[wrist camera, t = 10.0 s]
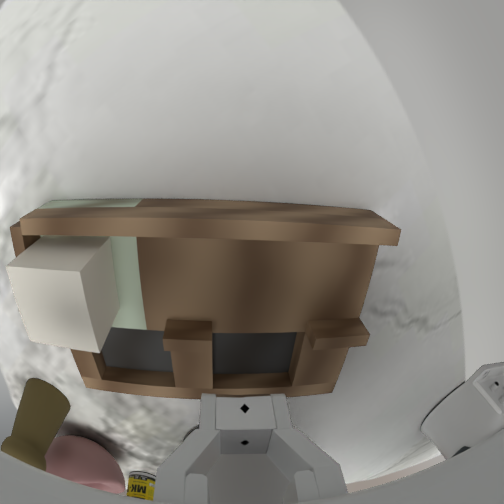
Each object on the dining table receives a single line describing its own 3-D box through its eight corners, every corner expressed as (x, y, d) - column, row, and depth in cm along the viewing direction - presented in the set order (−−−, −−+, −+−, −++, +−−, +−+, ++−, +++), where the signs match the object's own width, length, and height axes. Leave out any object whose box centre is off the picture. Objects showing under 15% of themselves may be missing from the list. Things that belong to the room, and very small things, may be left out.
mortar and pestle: (121, 469, 32) (113, 529, 21) (49, 439, 28) (32, 498, 18) (138, 443, 28) (129, 522, 18) (49, 405, 25) (22, 480, 14)
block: (110, 236, 16) (79, 271, 12) (120, 307, 18) (99, 353, 14) (44, 235, 15) (5, 266, 11) (58, 301, 17) (30, 341, 13)
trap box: (370, 210, 19) (401, 229, 15) (326, 377, 25) (338, 409, 22) (40, 201, 16) (8, 219, 12) (83, 370, 22) (70, 401, 19)
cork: (77, 416, 25) (56, 492, 15) (38, 406, 25) (13, 474, 15) (59, 383, 23) (27, 467, 13) (19, 373, 22) (-17, 445, 12)
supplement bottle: (147, 470, 32) (143, 517, 24) (164, 481, 34) (162, 524, 26) (123, 471, 32) (117, 514, 24) (140, 481, 34) (137, 522, 26)
